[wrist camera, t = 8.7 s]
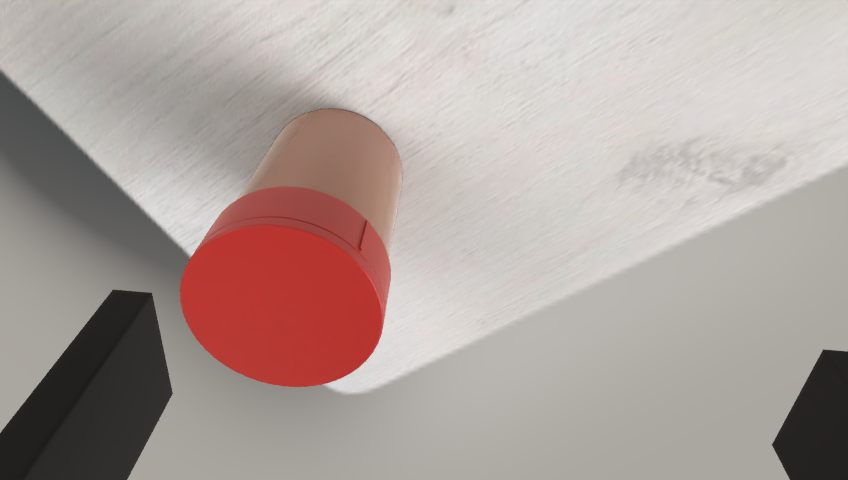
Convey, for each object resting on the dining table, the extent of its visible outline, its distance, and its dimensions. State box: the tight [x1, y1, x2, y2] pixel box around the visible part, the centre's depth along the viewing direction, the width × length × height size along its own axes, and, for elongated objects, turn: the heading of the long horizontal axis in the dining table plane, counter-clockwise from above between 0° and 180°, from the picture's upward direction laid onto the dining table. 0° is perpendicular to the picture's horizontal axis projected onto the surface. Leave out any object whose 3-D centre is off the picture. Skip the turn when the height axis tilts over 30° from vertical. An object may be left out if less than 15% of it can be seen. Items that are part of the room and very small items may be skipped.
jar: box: [237, 109, 403, 257], centre depth 29 cm, size 7×7×12 cm
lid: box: [180, 186, 391, 387], centre depth 25 cm, size 8×8×3 cm
